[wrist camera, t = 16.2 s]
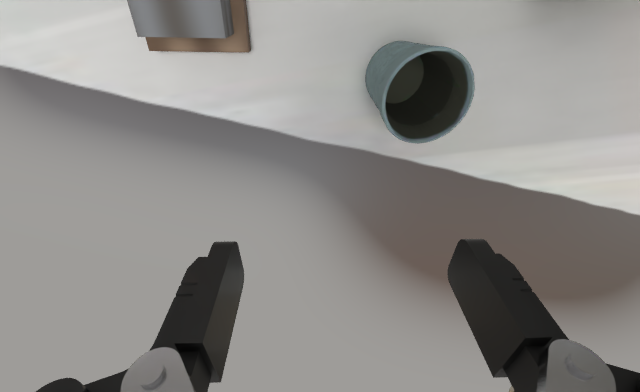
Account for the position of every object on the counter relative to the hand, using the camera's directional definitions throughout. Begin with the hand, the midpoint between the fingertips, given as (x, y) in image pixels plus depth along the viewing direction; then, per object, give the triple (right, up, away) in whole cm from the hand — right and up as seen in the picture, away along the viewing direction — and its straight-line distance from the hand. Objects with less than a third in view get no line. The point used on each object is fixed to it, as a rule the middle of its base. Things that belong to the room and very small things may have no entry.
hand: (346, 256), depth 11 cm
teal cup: (+10, +19, +30) cm, 37 cm away
